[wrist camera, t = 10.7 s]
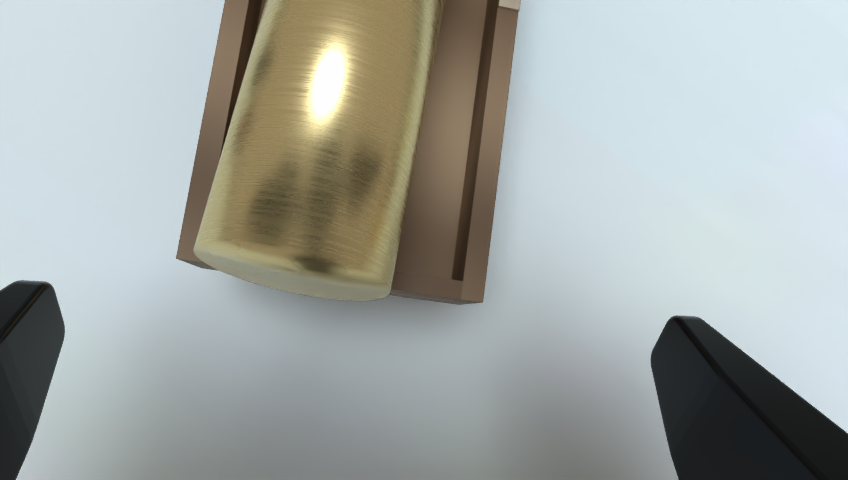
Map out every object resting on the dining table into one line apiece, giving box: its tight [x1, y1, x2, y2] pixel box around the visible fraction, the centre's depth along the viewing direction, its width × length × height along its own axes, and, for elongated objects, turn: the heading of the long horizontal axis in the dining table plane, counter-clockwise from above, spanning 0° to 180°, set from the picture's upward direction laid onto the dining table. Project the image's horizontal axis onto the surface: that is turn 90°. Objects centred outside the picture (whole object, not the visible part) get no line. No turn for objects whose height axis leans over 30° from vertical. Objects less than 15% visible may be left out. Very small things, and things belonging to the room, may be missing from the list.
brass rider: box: [193, 0, 445, 301], centre depth 13 cm, size 4×4×10 cm
